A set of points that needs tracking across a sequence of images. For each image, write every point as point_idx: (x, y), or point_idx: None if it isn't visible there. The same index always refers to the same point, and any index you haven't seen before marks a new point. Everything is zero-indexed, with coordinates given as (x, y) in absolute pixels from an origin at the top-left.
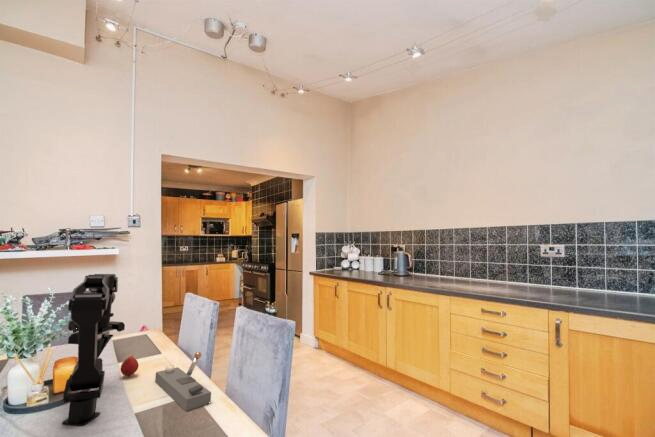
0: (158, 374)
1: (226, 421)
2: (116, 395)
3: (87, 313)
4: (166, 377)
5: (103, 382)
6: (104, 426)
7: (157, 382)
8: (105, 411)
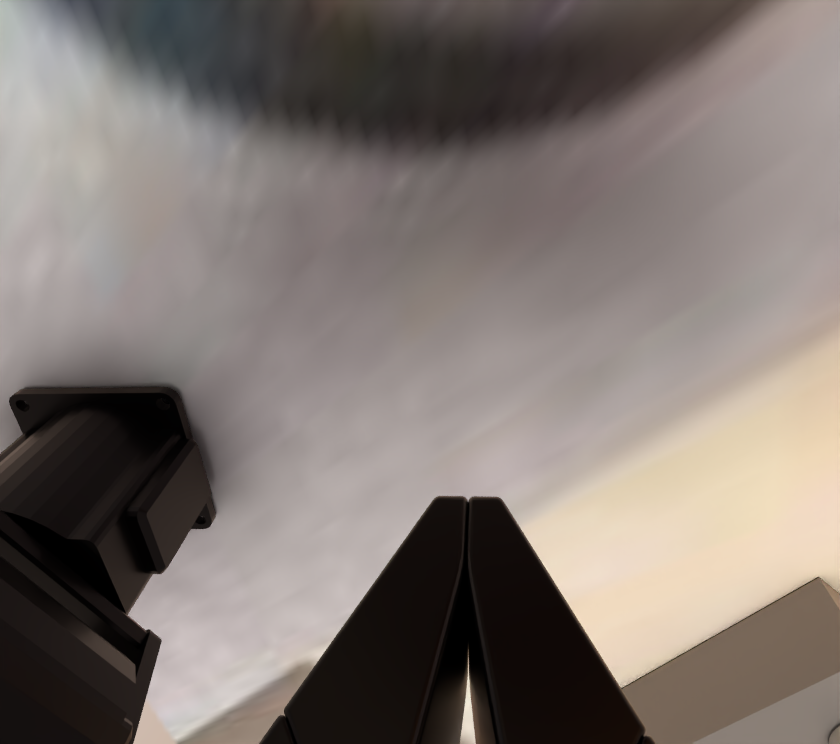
0: (800, 689)
1: None
2: (512, 447)
3: None
4: None
5: (143, 701)
6: None
7: (770, 618)
8: (264, 520)
